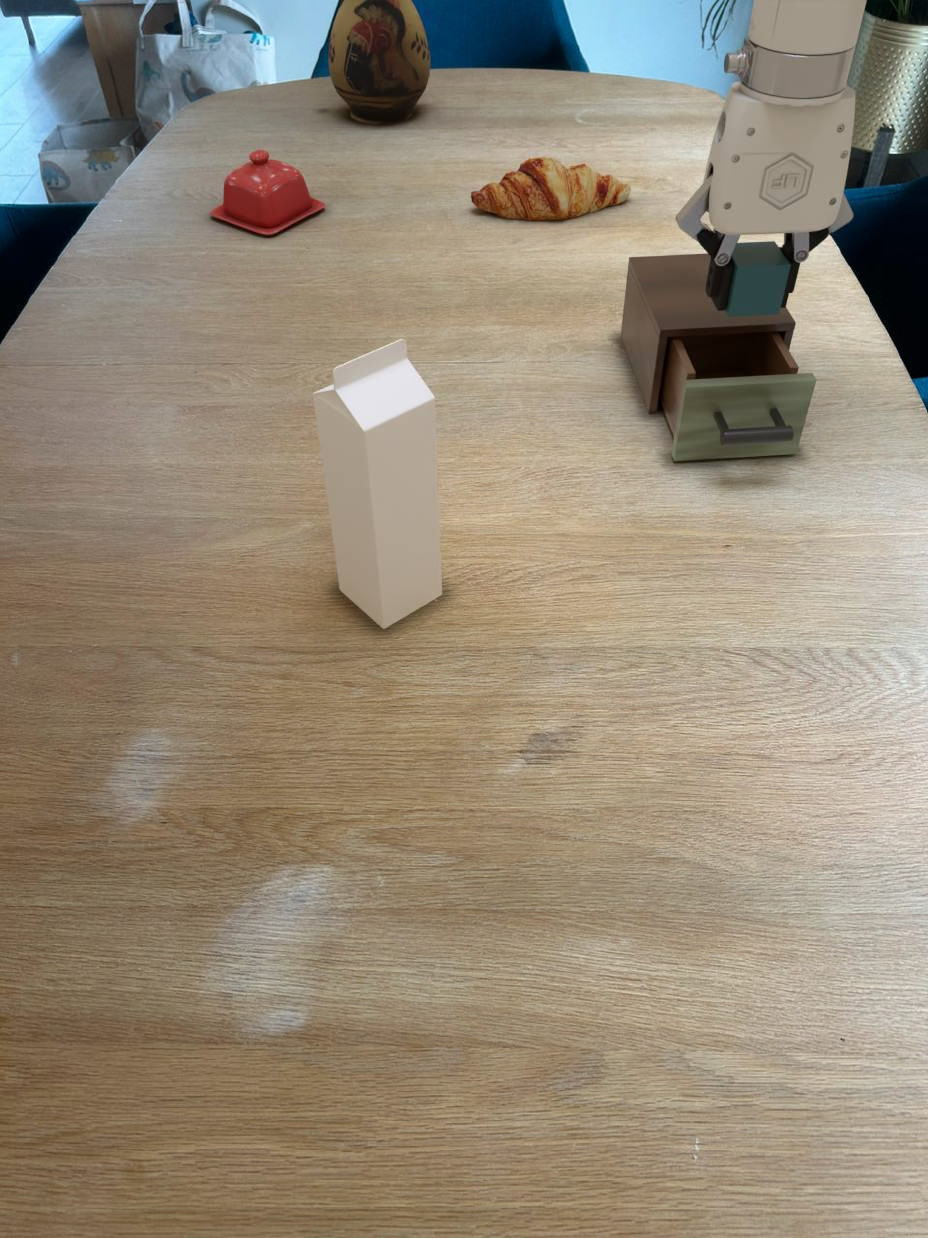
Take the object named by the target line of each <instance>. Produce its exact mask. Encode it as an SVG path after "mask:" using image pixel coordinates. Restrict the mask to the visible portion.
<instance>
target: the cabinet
mask: <svg viewBox="0 0 928 1238" xmlns="http://www.w3.org/2000/svg"><path fill="white" fill-rule="evenodd" d="M710 259H711V256H710V255H709V254H708V253H707V252H706V253H689V254H686V253H685V254H670V255H669V254H667V255H665V254H664V255H648V256H645V255H644V256H629V257H628V262H627V264H628V265H627V273H626V274H627V275H626V283H625V291H624V292H625V293H624V300H623V310H622V318H621V319H622V320H621V328H620V341H621V343H622V344H621V345H622V347H623V349H624V352H625V355H626V357H627V359H628V362H629V365H630V368H631V371H632V374H633V377H634V379H635V382H636V384H637V388H638V390H639V393H640V396H641V398H642V401H643V403H644V404H643V405H644V406H645V410H646V412H647V414H648V415H662V414H663V415H664V414H665V412H664V410H663V407H662V405H661V402H660V400H659V392H660V385H661V378H662V371H663V365H664V358H665V351H666V344H667V337H680V336H699V335H718V334H737V333H756V332H775V331H778V333H779V335H780V336H781V338H782V340H783V341H784V343H785V345H786V346H787V348H788V350H789V351H790V347H791V344H792V339H793V337H794V332H795V329H796V324H797V322H796V321H795V319H794V317H793V316H792V313H790V311H789V310H788V308H787V306H786V307H785V308H781V309H780V313H779V314H778V315H757V316H737V317H728V316H727V314H726V312H725V310H724V311H718V310H717V309H716V307H715V305H714V303H713V301H712V299H711V297H708V296H707V293H706V282H707V276H708V270H709V265H710Z"/></svg>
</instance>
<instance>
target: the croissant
mask: <svg viewBox="0 0 928 1238" xmlns="http://www.w3.org/2000/svg"><path fill="white" fill-rule="evenodd" d="M631 191H632V188H631V186H630V185H629V184H627V183H624V184H623V182H621V181H620V180H619V179H617V178H616V177H614V176H613V175H612V174H611V173H610V174H606V175H602V174H601V173H599V172H598V171H595V170H592V168H591V167H590V166H588V165H587V164H586V163H581V164H578V165H569V167H568V168H567V167H566V166H565V165H564V164H562V163H561V161H560V160H558V159H557V158H554V157H545V156H539V157H533V158H530V157H529V158H528V159H526V160H524V162H521V163H520V164H519V168H518V169H517V170H511V171H510V172H506V173H505V174H504V175H503V177H502V178H501V180H500V182H489V183H487V184H485V185H484V186H483V187H482V188H481V189H479V190H474V191H471V192H470V199H471V203H472V204H473V205H474V207H477V209H481V210H483V211H485V212H488V213H492V214H495V215H497V216H498V217H500V218H503V219H510V220H526V221H531V222H532V221H535V222H536V221H552V220H553V221H557V220H566V219H573V218H577V217H580V216H582V215H585V214H587V213H595V212H598V211H600V210H601V209H605V208H606V207H614V206H617V205H619V204H621V203H623V202H625V201H626V200H627V199H628V197H629V196H630V195H631Z"/></svg>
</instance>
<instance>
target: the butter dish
mask: <svg viewBox="0 0 928 1238" xmlns="http://www.w3.org/2000/svg"><path fill="white" fill-rule="evenodd" d="M248 159H249V160H250V161H248V162H246V163H244V164H242V165H240V166H238V167H237V168H235V169H234V170H233V171H231V172H230V173H229V174H228V175H227V176H226V177H225V178H224V182H223V202H222V204H220V205H218V206H217V207H215V208H213V209H212V210H211V211H210V212H209V216H211V217H213V218H215V219H218V220H221V221H223V222H226V223H229V224H232V225H234V226H237V227H239V228H242V229H245V230H247V231H250V232H255V233H257V234H260V235H263V236H273V235H275V234H278V233H279V232H282V231H283V230H285V229H287V228H288V227H290V226H292V225H293V224H295V223H298V222H300V221H302V220H303V219H305V218H307V217H309V216H311V215H314V214H316V213H317V212H319V211H321V210H323V209H324V208H325V207H326V204H325V203H324V202H323V201H321V200H319V199H317V198H314V197H312V196H311V195H310V191H309V189H308V186H307V183H306V181H305V178H304V175H303V173H302V172H301V171H300V170H299V169H297V168H296V167H294V166H292V165H290V164H288V163H286V162H284V161H281V160H277V159H272V158H270V153H269V152H268V151H267V150H265V149H255V150H253V151H251V153H250V154H249V156H248Z"/></svg>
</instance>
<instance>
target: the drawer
mask: <svg viewBox="0 0 928 1238" xmlns="http://www.w3.org/2000/svg"><path fill="white" fill-rule="evenodd" d="M799 368H800V367H799V365H798V363H797V362H796V360H795V358H794V357H793V354H792V353H791V351H790V349H789V350H788V348H787V346H786V345H785V343H784V341H783V340H782V338H781V336H780V335H779V333H778V331H775V332H756V333H737V334H718V335H699V336H680V337H667V344H666V351H665V358H664V365H663V371H662V378H661V385H660V392H659V400H660V402H661V405H662V407H663V410H664V412H665V413H664V415H665V417H666V420H667V423H668V425H669V428H670V430H671V433H672V435H673V441H672V445H671V446H672V447H671V452H670V453H671V457H672V459H673V462H681V461H682V462H683V461H684V462H685V461H700V460H717V459H719V460H720V459H734V458H749V457H752V458H753V457H768V456H784V455H786V456H787V455H797V453H798V449H799V446H800V443H801V438H802V435H803V430H804V428H805V423H806V420H807V416H808V413H809V408H810V405H811V402H812V398H813V394H814V391H815V387H816V383H817V379H816V377H815V376H814V374H813V373H812V372H808V373H807V372H806V373H798V372H799Z"/></svg>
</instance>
